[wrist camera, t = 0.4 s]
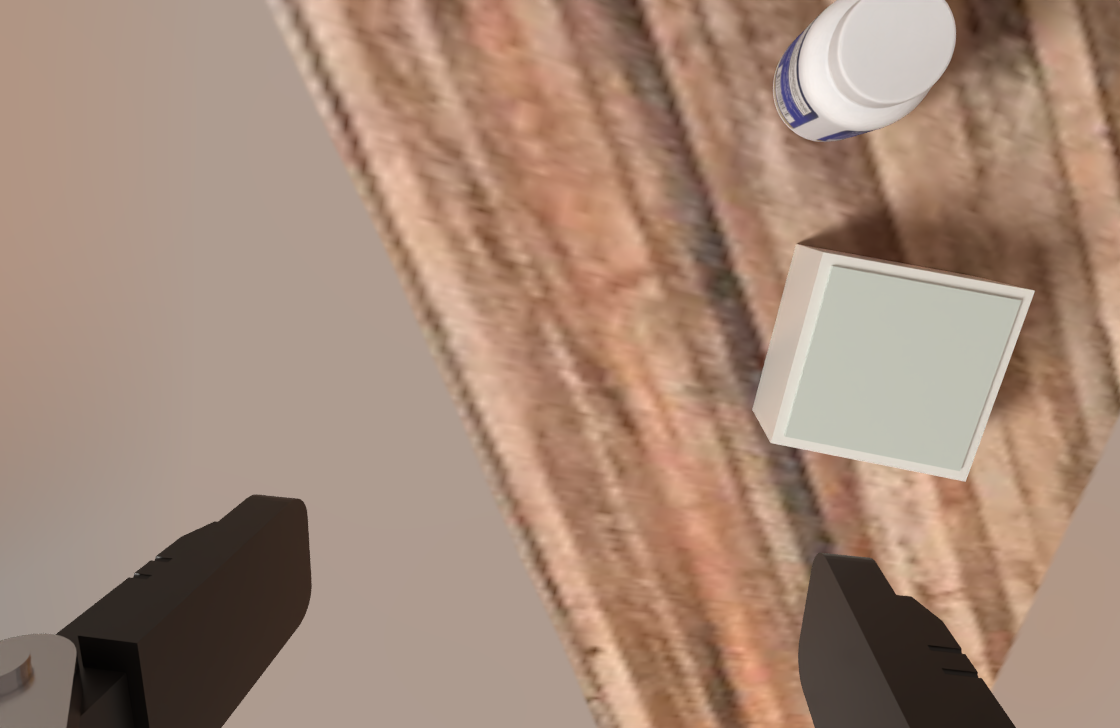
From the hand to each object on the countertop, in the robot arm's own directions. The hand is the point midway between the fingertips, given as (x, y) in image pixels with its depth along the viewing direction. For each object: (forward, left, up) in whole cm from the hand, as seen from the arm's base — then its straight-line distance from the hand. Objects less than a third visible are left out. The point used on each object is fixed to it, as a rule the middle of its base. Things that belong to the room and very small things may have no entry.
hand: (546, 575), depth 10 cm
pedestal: (-3, +13, -26) cm, 29 cm away
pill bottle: (-14, +6, -26) cm, 30 cm away
